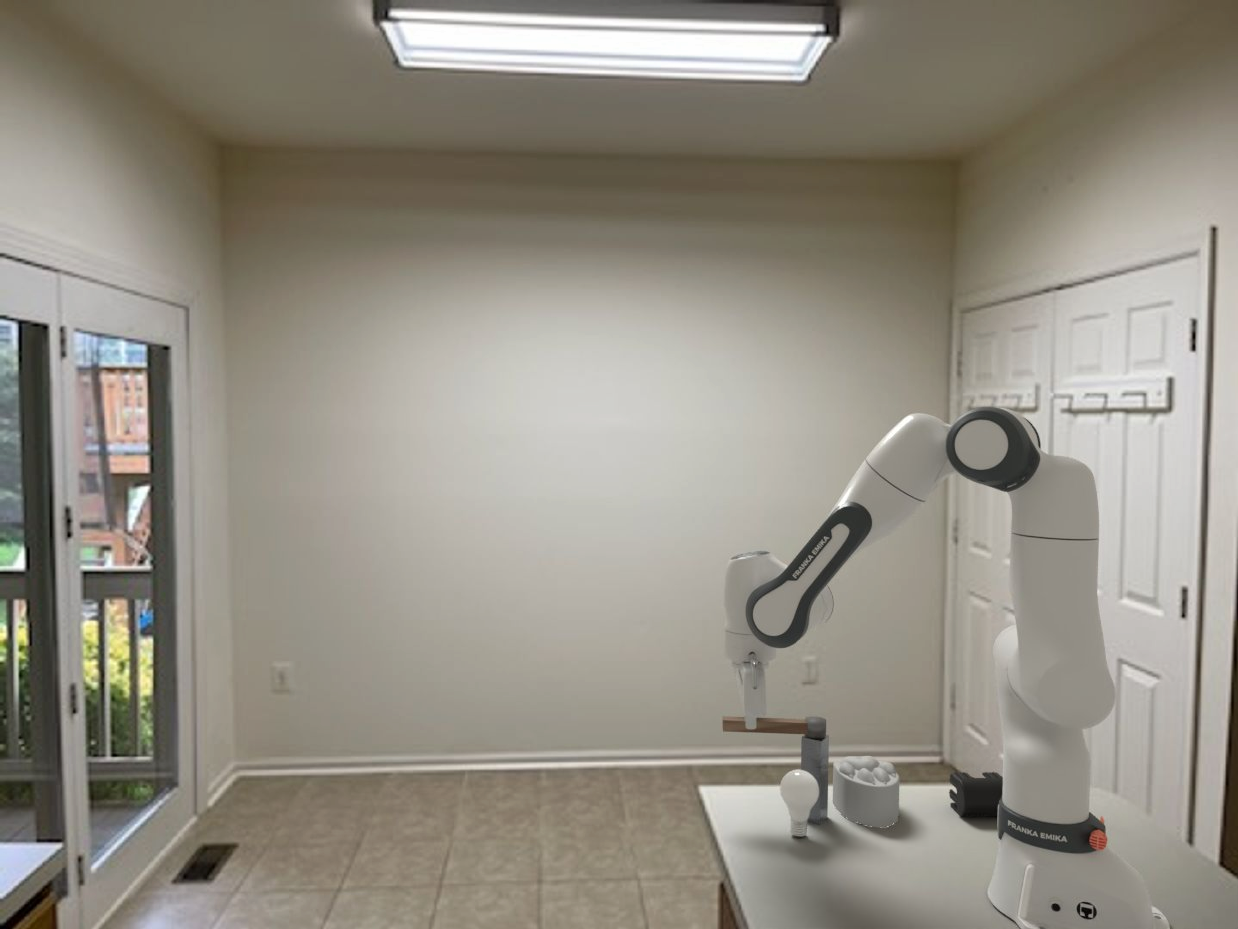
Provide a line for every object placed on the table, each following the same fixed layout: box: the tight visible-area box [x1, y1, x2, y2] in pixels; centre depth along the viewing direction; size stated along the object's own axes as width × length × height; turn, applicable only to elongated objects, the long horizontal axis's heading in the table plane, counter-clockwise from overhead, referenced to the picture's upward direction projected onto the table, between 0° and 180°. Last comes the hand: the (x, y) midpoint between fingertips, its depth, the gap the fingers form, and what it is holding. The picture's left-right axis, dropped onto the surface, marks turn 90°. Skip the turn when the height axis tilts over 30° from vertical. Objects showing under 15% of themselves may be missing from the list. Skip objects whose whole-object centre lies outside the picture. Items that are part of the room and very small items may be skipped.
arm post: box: [800, 734, 830, 825], centre depth 148 cm, size 4×4×14 cm
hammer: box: [722, 715, 827, 738], centre depth 148 cm, size 4×18×3 cm, turn 86°
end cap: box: [948, 771, 1003, 817], centre depth 151 cm, size 10×7×7 cm
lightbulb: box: [779, 768, 819, 838], centre depth 141 cm, size 6×6×11 cm
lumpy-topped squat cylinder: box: [832, 755, 901, 829], centre depth 151 cm, size 10×13×9 cm
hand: (750, 726), depth 145 cm, fingers closed
